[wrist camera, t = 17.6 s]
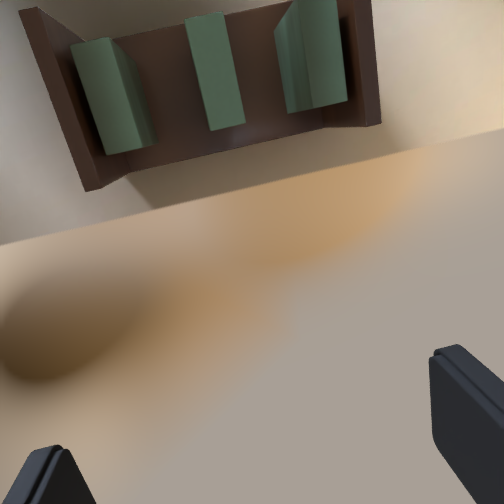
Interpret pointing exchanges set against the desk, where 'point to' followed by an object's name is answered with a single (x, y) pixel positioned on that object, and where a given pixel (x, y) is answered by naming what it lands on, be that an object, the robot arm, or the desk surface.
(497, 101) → the desk surface
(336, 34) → the book rack
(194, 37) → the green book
